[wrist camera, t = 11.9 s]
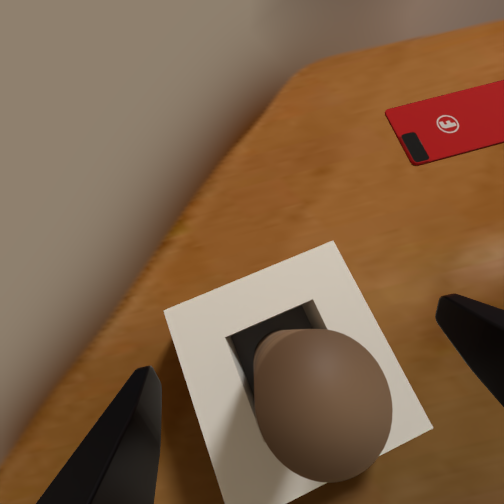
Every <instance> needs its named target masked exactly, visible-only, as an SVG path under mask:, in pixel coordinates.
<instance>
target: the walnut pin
mask: <svg viewBox="0 0 504 504" xmlns="http://www.w3.org/2000/svg"><path fill="white" fill-rule="evenodd" d="M253 368H254V401H255V413H256V418H257V422H258V426H259V429H260V432H261V434H262V436H263V438H264V441H265V442H266V444H267V446H268V447H269V449H270V450H271V452H272V453H273V454H274V455H275V457H276V458H277V459H278V460H279V461H280V462H281V463H282V464H283V465H284V466H286V467H287V468H288V469H290V470H291V471H292V472H294V473H296V474H298V475H299V476H301V477H304V478H307V479H309V480H313V481H317V482H327V483H331V482H340V481H344V480H348V479H350V478H353V477H355V476H357V475H359V474H360V473H362V472H364V471H365V470H366V469H367V468H369V467H370V466H371V465H372V464H373V463H374V462H375V460H376V459H377V458H378V457H379V455H380V454H381V452H382V450H383V449H384V447H385V444H386V442H387V440H388V437H389V434H390V430H391V424H392V413H393V408H392V398H391V393H390V389H389V385H388V382H387V379H386V377H385V375H384V373H383V371H382V369H381V367H380V366H379V364H378V362H377V361H376V360H375V358H374V357H373V356H372V355H371V354H370V352H369V351H368V350H367V349H366V348H365V347H363V346H362V345H361V344H360V343H359V342H357V341H355V340H354V339H352V338H351V337H349V336H347V335H345V334H342V333H339V332H336V331H332V330H327V329H295V330H276V331H273V332H270V333H268V334H266V335H265V336H264V337H263V338H262V339H261V340H260V341H259V343H258V344H257V346H256V348H255V351H254V356H253Z"/></svg>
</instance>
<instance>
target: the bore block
mask: <svg viewBox="0 0 504 504" xmlns="http://www.w3.org/2000/svg"><path fill="white" fill-rule="evenodd" d="M164 314H165V317H166V320H167V323H168V326H169V330H170V333H171V336H172V339H173V342H174V345H175V349H176V352H177V355H178V358H179V361H180V364H181V367H182V371H183V374H184V377H185V380H186V383H187V386H188V389H189V393H190V396H191V399H192V402H193V405H194V408H195V411H196V415H197V418H198V421H199V424H200V427H201V430H202V433H203V437H204V440H205V443H206V446H207V449H208V452H209V456H210V459H211V462H212V465H213V468H214V471H215V474H216V478H217V481H218V484H219V487H220V490H221V493H222V496H223V500H224V503H225V504H287V503H289V502H291V501H292V500H294V499H296V498H298V497H300V496H302V495H304V494H306V493H308V492H310V491H312V490H314V489H316V488H318V487H320V486H322V485H324V484H326V483H327V482H317V481H313V480H309V479H307V478H304V477H301V476H299V475H298V474H296V473H294V472H292V471H291V470H290V469H288V468H287V467H286V466H284V465H283V464H282V463H281V462H280V461H279V460H278V459H277V458H276V457H275V455H274V454H273V453H272V452H271V450H270V449H269V447H268V446H267V444H266V442H265V441H264V438H263V436H262V434H261V432H260V429H259V426H258V422H257V418H256V413H255V401H254V368H253V356H254V351H255V348H256V346H257V344H258V343H259V341H260V340H261V339H262V338H263V337H264V336H265V335H266V334H268V333H270V332H273V331H276V330H295V329H327V330H332V331H336V332H339V333H342V334H345V335H347V336H349V337H351V338H352V339H354V340H355V341H357V342H359V343H360V344H361V345H362V346H363V347H365V348H366V349H367V350H368V351H369V352H370V354H371V355H372V356H373V357H374V358H375V360H376V361H377V362H378V364H379V366H380V367H381V369H382V371H383V373H384V375H385V377H386V379H387V382H388V385H389V389H390V393H391V398H392V408H393V413H392V424H391V430H390V434H389V437H388V440H387V442H386V444H385V447H384V449H383V450H382V452H381V454H380V455H382V454H384V453H386V452H388V451H390V450H392V449H394V448H396V447H398V446H399V445H401V444H403V443H405V442H407V441H409V440H411V439H413V438H415V437H417V436H419V435H421V434H423V433H425V432H427V431H429V430H431V429H433V427H432V425H431V423H430V421H429V419H428V417H427V415H426V413H425V412H424V410H423V408H422V406H421V404H420V402H419V400H418V399H417V397H416V395H415V393H414V391H413V389H412V387H411V385H410V384H409V382H408V380H407V378H406V376H405V374H404V372H403V370H402V369H401V367H400V365H399V363H398V361H397V359H396V357H395V355H394V354H393V352H392V350H391V348H390V346H389V344H388V342H387V341H386V339H385V337H384V335H383V333H382V331H381V329H380V327H379V326H378V324H377V322H376V320H375V318H374V316H373V314H372V312H371V311H370V309H369V307H368V305H367V303H366V301H365V299H364V297H363V296H362V294H361V292H360V290H359V288H358V286H357V284H356V282H355V281H354V279H353V277H352V275H351V273H350V271H349V269H348V268H347V266H346V264H345V262H344V260H343V258H342V256H341V254H340V253H339V251H338V249H337V247H336V245H335V243H334V241H331V242H328V243H326V244H323V245H321V246H319V247H316V248H314V249H311V250H309V251H306V252H304V253H302V254H299V255H297V256H294V257H292V258H290V259H287V260H285V261H282V262H280V263H277V264H275V265H273V266H270V267H268V268H265V269H263V270H260V271H258V272H256V273H253V274H251V275H248V276H246V277H244V278H241V279H239V280H236V281H234V282H231V283H229V284H227V285H224V286H222V287H219V288H217V289H215V290H212V291H210V292H207V293H205V294H202V295H200V296H198V297H195V298H193V299H190V300H188V301H185V302H183V303H181V304H178V305H176V306H173V307H171V308H169V309H166V310H164ZM380 455H379V456H380Z"/></svg>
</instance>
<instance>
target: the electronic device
mask: <svg viewBox="0 0 504 504" xmlns="http://www.w3.org/2000/svg"><path fill="white" fill-rule="evenodd" d="M385 115H386V117H387V119H388V120H389V122H390V124H391V126H392V128H393V130H394V132H395V134H396V135H397V137H398V139H399V141H400V143H401V145H402V147H403V149H404V151H405V152H406V154H407V156H408V158H409V160H410V162H411V163H412V164H413V165H421V164H425V163H428V162H432V161H436V160H440V159H443V158H447V157H451V156H454V155H458V154H462V153H466V152H469V151H473V150H477V149H480V148H484V147H488V146H491V145H495V144H499V143H503V142H504V80H501V81H497V82H493V83H490V84H486V85H482V86H478V87H474V88H470V89H466V90H462V91H458V92H454V93H450V94H446V95H442V96H438V97H434V98H430V99H426V100H422V101H418V102H414V103H410V104H406V105H402V106H399V107H395V108H391V109H387V110H386V111H385Z"/></svg>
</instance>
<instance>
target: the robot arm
mask: <svg viewBox="0 0 504 504" xmlns="http://www.w3.org/2000/svg"><path fill="white" fill-rule="evenodd" d="M435 317H436V321H437V323H438V325H439V326H440V327H441V329H442V330H443V332H444V333H445V334H446V336H447V337H448V339H449V340H450V341H451V343H452V344H453V345H454V347H455V348H456V350H457V351H458V352H459V354H460V355H461V357H462V358H463V359H464V361H465V362H466V363H467V365H468V366H469V367H470V368H471V370H472V371H473V372H474V373H475V375H476V376H477V377H478V378H479V379H480V380H481V382H482V383H483V384H484V385H485V386H486V387H487V388H488V390H489V391H490V392H491V393H492V394H493V395H494V397H495V398H496V399H497V400H498V401H499V402H500V403H501V405H502V406H503V407H504V310H502V309H499V308H496V307H493V306H490V305H488V304H485V303H482V302H479V301H476V300H473V299H470V298H467V297H464V296H461V295H458V294H449V295H444V296H441V297H440V299H439V302H438V306H437V310H436V315H435ZM161 408H162V387H161V383H160V380H159V379H158V377H157V375H156V373H155V371H154V369H153V367H152V366H145V367H141V368H138V369H136V370H135V371H134V372H133V374H132V375H131V376H130V378H129V379H128V380H127V382H126V383H125V384H124V386H123V387H122V389H121V390H120V391H119V393H118V394H117V395H116V397H115V398H114V399H113V401H112V402H111V403H110V405H109V406H108V407H107V409H106V410H105V411H104V413H103V414H102V415H101V417H100V418H99V419H98V421H97V422H96V423H95V425H94V426H93V428H92V429H91V430H90V432H89V433H88V434H87V436H86V437H85V438H84V440H83V441H82V442H81V444H80V445H79V446H78V448H77V449H76V450H75V452H74V453H73V454H72V456H71V457H70V458H69V460H68V461H67V463H66V464H65V465H64V467H63V468H62V469H61V471H60V472H59V473H58V475H57V476H56V477H55V479H54V480H53V481H52V483H51V484H50V485H49V487H48V488H47V489H46V491H45V492H44V493H43V495H42V496H41V497H40V499H39V500H38V502H37V503H36V504H154V496H155V488H156V480H157V472H158V464H159V456H160V445H161Z"/></svg>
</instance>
